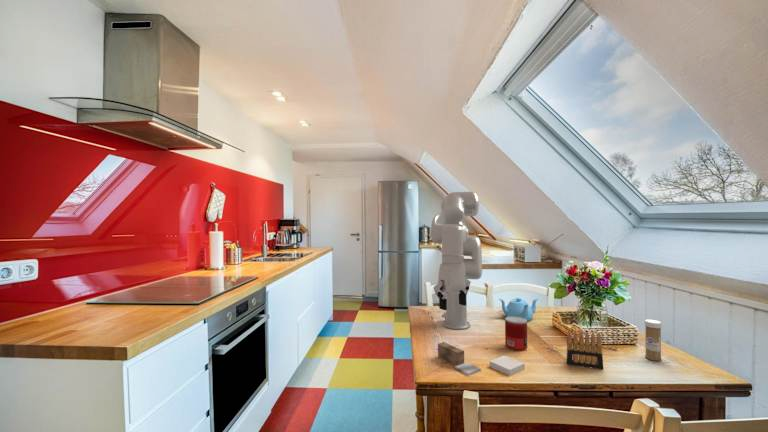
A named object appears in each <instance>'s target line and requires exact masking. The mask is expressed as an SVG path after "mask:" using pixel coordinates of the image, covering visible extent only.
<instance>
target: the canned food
mask: <svg viewBox="0 0 768 432" xmlns="http://www.w3.org/2000/svg"><path fill="white" fill-rule="evenodd" d="M504 321H505V322H504V331H505V332H504V333H505V334H504V335H505V337H504V338H505V343H504V344H505V347H506V348H507V349H509V350H511V351H515V352H523V351H527V348H528V321H527V320H526V319H524V318H521V317H507V316H506V317H505V318H504Z"/></svg>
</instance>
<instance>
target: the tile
mask: <svg viewBox="0 0 768 432" xmlns="http://www.w3.org/2000/svg"><path fill="white" fill-rule="evenodd" d="M525 365H526V364H525V363H524V362H522V361H519V360H517V359H514V358H512V357H510V356H507V355H502V356H499V357H497V358H494V359H491V360H489V368H492V369H494V370H496V371H497V372H501V373H503V374H504V375H507V376H513V375H515V374H517V373H520V372H523V371H524V370H525V368H526V367H525Z"/></svg>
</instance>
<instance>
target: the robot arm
mask: <svg viewBox="0 0 768 432" xmlns="http://www.w3.org/2000/svg"><path fill="white" fill-rule="evenodd" d="M479 207H480V199H479V196H478V195H477V193H476V192H473V191H454V192H450V193H448V194H447V195H446V197H445V199H444V200H443V201H441V203H440V210H441V211H440V212H439V213H437V214H436V215H435V216H434V217H433V218H432V221H431V225H430V232H429V233H430V234H429V235H430V239H431V241H432V242H433V243H434V244H441V263H440V264H439V267H438V268H439V269H438V276H437V284H435V285H434V286H433V290H434V292H435V295H436V296H437V298H438V305H439V306H438V308H439V309H440V310H442V311H445V312H443V314H441V317H442V318H444V320H443V321H442V325H443V327H445V328H446V329H452V330H467V329H469V328H470V327H471V322H469V321H468V315H467V312H468V311H467V303H468V302H467V300H468V299H467V298H468V297H467V295H468V292H469V290H470V285H471V283H472V281H471V280H479V279H481V278H482V275H483V257H482V255H483V254H482V253H483V252H482V242H481V238H480V237H478V236H476V235H469V233H470V232H469V229H468V227H467V226H466V225H465V224H464V223H463V219H464V218H465V217H475V216H477V215H478V213H479ZM465 257H471V258H465Z"/></svg>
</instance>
